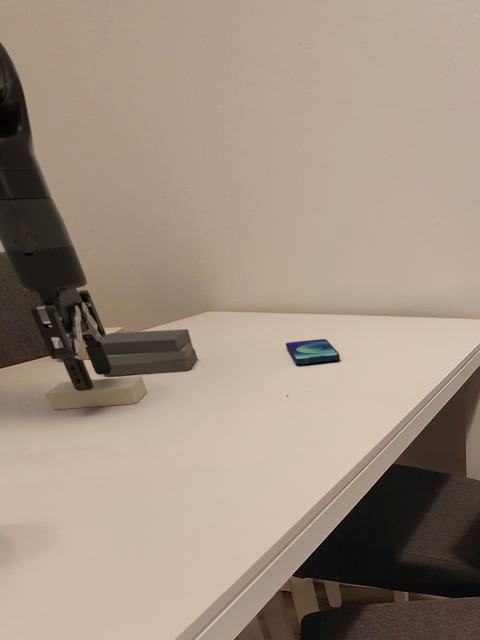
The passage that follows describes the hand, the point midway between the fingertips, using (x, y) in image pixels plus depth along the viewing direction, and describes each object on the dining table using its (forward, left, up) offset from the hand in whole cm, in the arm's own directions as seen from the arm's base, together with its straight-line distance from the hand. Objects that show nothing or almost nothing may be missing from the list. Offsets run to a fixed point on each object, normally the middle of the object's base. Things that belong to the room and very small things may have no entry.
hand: (95, 381), depth 83 cm
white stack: (+18, +28, -3) cm, 33 cm away
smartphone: (+34, -10, -3) cm, 35 cm away
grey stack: (+16, +10, -3) cm, 19 cm away
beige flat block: (0, 0, -3) cm, 3 cm away
